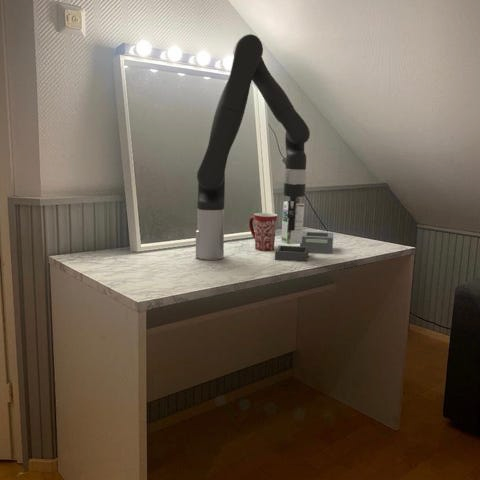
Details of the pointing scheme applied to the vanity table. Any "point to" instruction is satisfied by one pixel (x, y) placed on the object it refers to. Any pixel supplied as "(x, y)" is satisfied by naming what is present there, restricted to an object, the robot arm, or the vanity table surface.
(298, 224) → the syrup box
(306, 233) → the port
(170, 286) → the vanity table surface
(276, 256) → the dark grey tray
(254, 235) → the mug
